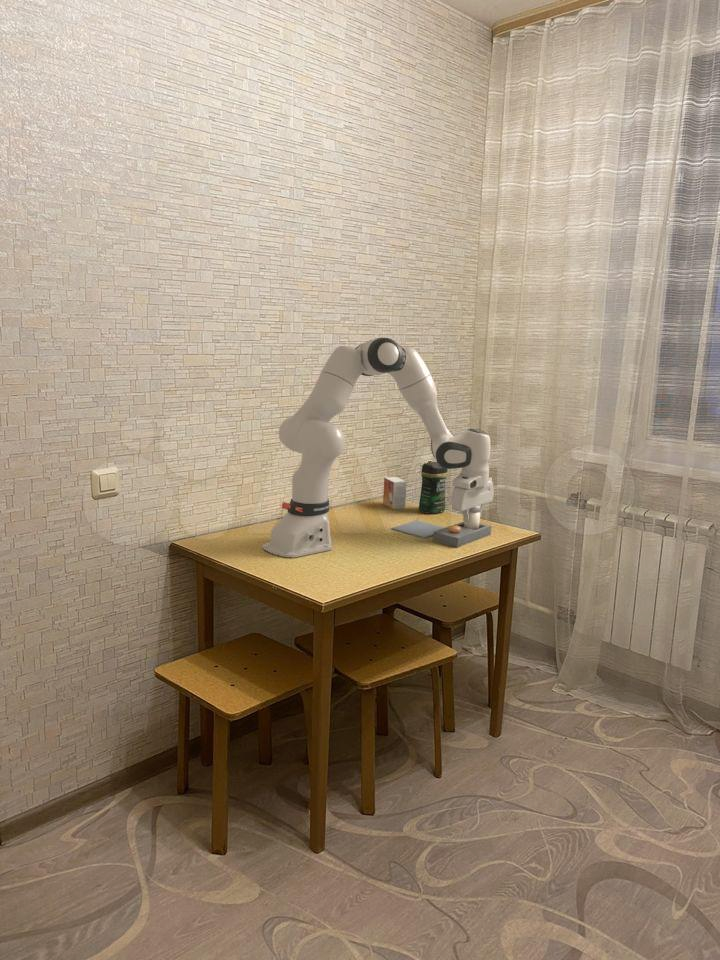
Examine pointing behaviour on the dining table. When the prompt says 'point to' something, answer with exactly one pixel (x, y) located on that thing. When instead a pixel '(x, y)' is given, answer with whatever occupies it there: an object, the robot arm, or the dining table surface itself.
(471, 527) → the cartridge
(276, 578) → the dining table surface
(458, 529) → the orange flat dome
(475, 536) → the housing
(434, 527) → the mat
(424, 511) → the coffee jar
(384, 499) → the small box
